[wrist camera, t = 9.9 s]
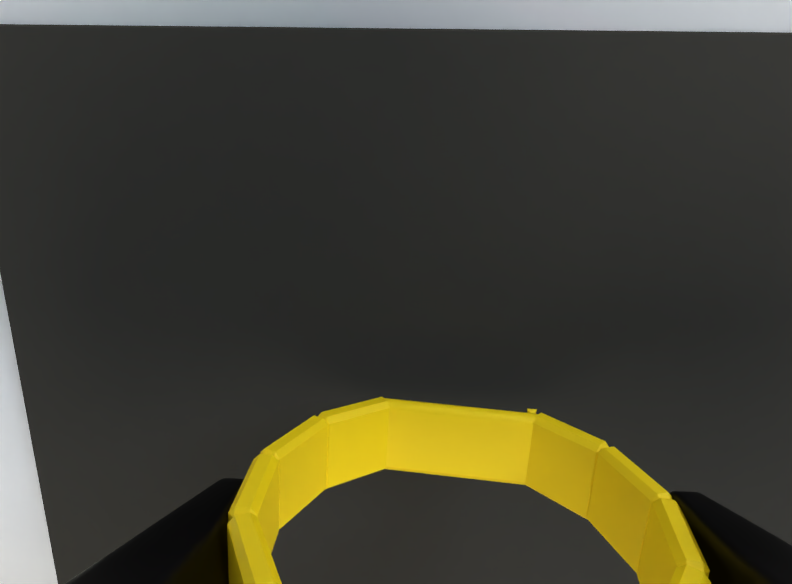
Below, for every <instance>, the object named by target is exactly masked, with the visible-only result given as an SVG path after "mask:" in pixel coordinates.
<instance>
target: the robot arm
mask: <svg viewBox="0 0 792 584" xmlns="http://www.w3.org/2000/svg"><path fill="white" fill-rule="evenodd" d="M243 480H244V479H237V478H223V479H221V480H219V481H217V482H216V483H214V484H213V485H211V486H210V487H208V488H207V489H205V490H204V491H202V492H201V493H199V494H198V495H196V496H195V497H193V498H192V499H190V500H189V501H187V502H186V503H184V504H183V505H181V506H180V507H178V508H177V509H175V510H174V511H172V512H171V513H169V514H168V515H166V516H165V517H163V518H162V519H160V520H159V521H157V522H156V523H155V524H153V525H152V526H150V527H149V528H147V529H146V530H144V531H143V532H141V533H140V534H138V535H137V536H135V537H134V538H132V539H131V540H129V541H128V542H126V543H125V544H123V545H122V546H120V547H119V548H117V549H116V550H114V551H113V552H111V553H110V554H108V555H107V556H105V557H104V558H102V559H101V560H99V561H98V562H96V563H95V564H93V565H92V566H90V567H89V568H87V569H86V570H84V571H83V572H81V573H80V574H78V575H77V576H75V577H74V578H72V579H71V580H69V581H68V582H66V583H65V584H229V575H228V541H227V523H228V512H229V510H230V508H231V506H232V503H233V501H234V499H235V497H236V495H237V493H238V491H239V489H240V487H241V484H242V482H243ZM669 494H670V495H671V496H672V500H675V501H676V502H677V503H678V505H679V507H680V508H681V510H682V512H683V514H684V516H685V518H686V520H687V522H688V524H689V526H690V528H691V531H692V533H693V535H694V537H695V539H696V541H697V544H698V546H699V548H700V550H701V552H702V554H703V557H704V559H705V561H706V563H707V565H708V567H709V570H710V573H709V576H708V579H709V580H710V582H711V584H792V545H791V544H789V543H787V542H785V541H784V540H782V539H780V538H778V537H777V536H775V535H773V534H771V533H770V532H768V531H766V530H764V529H763V528H761V527H759V526H757V525H756V524H754V523H752V522H750V521H749V520H747V519H745V518H743V517H742V516H740V515H738V514H736V513H735V512H733V511H731V510H729V509H728V508H726V507H724V506H722V505H721V504H719V503H717V502H715V501H714V500H712V499H710V498H708V497H707V496H705V495H703V494H701V493H699V492H688V491H672V492H670V493H669Z"/></svg>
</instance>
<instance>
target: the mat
mask: <svg viewBox="0 0 792 584" xmlns="http://www.w3.org/2000/svg"><path fill="white" fill-rule="evenodd" d="M0 273H1V278H2V283H3V289H4V294H5V300H6V305H7V310H8V316H9V321H10V327H11V332H12V337H13V343H14V348H15V354H16V359H17V364H18V370H19V375H20V380H21V386H22V391H23V397H24V402H25V407H26V413H27V418H28V424H29V429H30V434H31V440H32V445H33V451H34V456H35V461H36V467H37V472H38V477H39V483H40V488H41V494H42V499H43V504H44V510H45V515H46V521H47V526H48V531H49V537H50V542H51V547H52V553H53V558H54V564H55V569H56V574H57V580H58V584H65V583H66V582H68V581H69V580H71V579H72V578H74V577H75V576H77V575H78V574H80V573H81V572H83V571H84V570H86V569H87V568H89V567H90V566H92V565H93V564H95V563H96V562H98V561H99V560H101V559H102V558H104V557H105V556H107V555H108V554H110V553H111V552H113V551H114V550H116V549H117V548H119V547H120V546H122V545H123V544H125V543H126V542H128V541H129V540H131V539H132V538H134V537H135V536H137V535H138V534H140V533H141V532H143V531H144V530H146V529H147V528H149V527H150V526H152V525H153V524H155V523H156V522H157V521H159V520H160V519H162V518H163V517H165V516H166V515H168V514H169V513H171V512H172V511H174V510H175V509H177V508H178V507H180V506H181V505H183V504H184V503H186V502H187V501H189V500H190V499H192V498H193V497H195V496H196V495H198V494H199V493H201V492H202V491H204V490H205V489H207V488H208V487H210V486H211V485H213V484H214V483H216V482H217V481H219V480H221V479H223V478H237V479H244V478H245V476H246V474H247V472H248V470H249V468H250V465H251V463H252V461H253V459H254V458H256V457H257V456H258V455H259V454H260V452H261V451H262V450H263V449H265V448H266V447H268V446H269V445H271V444H272V443H273V442H275V441H276V440H278V439H279V438H281V437H282V436H284V435H285V434H287V433H288V432H290V431H291V430H293V429H294V428H296V427H297V426H299V425H300V424H302V423H303V422H305V421H306V420H308V419H309V418H311V417H312V416H314V415H315V416H319V414H320V413H321V412H324V411H327V410H331V409H335V408H339V407H343V406H347V405H351V404H355V403H359V402H363V401H366V400H370V399H374V398H378V397H383V398H389V399H399V400H409V401H418V402H428V403H438V404H447V405H457V406H467V407H477V408H486V409H496V410H506V411H515V412H525V413H527V409H537V411H536V414H539V413H543V414H546V415H548V416H550V417H552V418H555V419H557V420H559V421H561V422H563V423H566V424H568V425H570V426H572V427H575V428H577V429H579V430H581V431H584V432H586V433H588V434H590V435H593V436H595V437H597V438H599V439H601V440H604V441H606V443H607V445H608V446H609V447H615V448H616V449H618V450H619V451H620V452H621V453H622V454H624V455H625V456H626V457H627V458H628V459H630V460H631V461H632V462H633V463H634V464H635V465H637V466H638V467H639V468H640V469H641V470H643V471H644V472H645V473H646V474H647V475H648V476H650V477H651V478H652V479H653V480H654V481H656V482H657V483H658V484H659V485H660V486H662V487H663V488H664V489H665V490H666V491H667V492H669V493H670V492H672V491H688V492H699V493H701V494H703V495H705V496H707V497H708V498H710V499H712V500H714V501H715V502H717V503H719V504H721V505H722V506H724V507H726V508H728V509H729V510H731V511H733V512H735V513H736V514H738V515H740V516H742V517H743V518H745V519H747V520H749V521H750V522H752V523H754V524H756V525H757V526H759V527H761V528H763V529H764V530H766V531H768V532H770V533H771V534H773V535H775V536H777V537H778V538H780V539H782V540H784V541H785V542H787V543H789V544H791V545H792V33H766V32H672V31H578V30H484V29H390V28H297V27H203V26H109V25H15V24H0ZM271 555H272V558H273V561H274V563H275V566H276V569H277V572H278V574H279V577H280V580H281V583H282V584H640V583H639V580H638V576H637V573H636V572H635V571H634V570H633V569H632V568H631V567H630V566H629V564H628V563H627V562H626V561H625V560H624V559H623V558H622V557H621V556H620V555H619V553H618V552H617V551H616V550H615V549H614V548H613V547H612V546H611V545H610V544H609V542H608V541H607V540H606V539H605V538H604V537H603V536H602V535H601V534H600V533H599V531H598V530H597V529H596V528H595V527H594V526H593V525H592V524H591V523H590V522H589V520H588V519H585V518H583V517H582V516H580V515H578V514H576V513H574V512H573V511H571V510H569V509H567V508H566V507H564V506H562V505H560V504H558V503H557V502H555V501H553V500H551V499H549V498H548V497H546V496H544V495H542V494H541V493H539V492H537V491H535V490H533V489H532V488H530V487H528V486H526V485H521V484H512V483H503V482H495V481H486V480H477V479H468V478H460V477H451V476H442V475H433V474H425V473H416V472H407V471H398V470H390V469H383V470H380V471H377V472H374V473H371V474H369V475H366V476H363V477H360V478H357V479H354V480H351V481H348V482H345V483H342V484H339V485H336V486H333V487H330V488H327V489H325V490H324V491H323V492H321V493H320V494H319V495H318V496H317V497H316V498H315V499H313V500H312V501H311V502H310V503H309V504H308V505H307V506H306V507H304V508H303V509H302V510H301V511H300V512H299V513H298V514H296V515H295V516H294V517H293V518H292V519H291V520H290V521H288V522H287V523H286V524H285V525H284V526H283V527H282V528H280V529H279V532H278V535H277V538H276V541H275V544H274V547H273V550H272V553H271Z"/></svg>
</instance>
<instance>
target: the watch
mask: <svg viewBox="0 0 792 584" xmlns="http://www.w3.org/2000/svg"><path fill="white" fill-rule="evenodd" d="M536 411H537V409H527V413H525V412H515V411H506V410H496V409H486V408H477V407H467V406H457V405H447V404H438V403H428V402H418V401H409V400H399V399H389V398H383V397H378V398H374V399H370V400H366V401H363V402H359V403H355V404H351V405H347V406H343V407H339V408H335V409H331V410H327V411H324V412H321V413H320V414H319V416H315V415H314V416H312V417H311V418H309V419H308V420H306V421H305V422H303V423H302V424H300V425H299V426H297V427H296V428H294V429H293V430H291V431H290V432H288V433H287V434H285V435H284V436H282V437H281V438H279V439H278V440H276V441H275V442H273V443H272V444H271V445H269V446H268V447H266V448H265V449H263V450H262V451H261V452H260V454H259V455H258V456H257V457H256V458H254V459H253V461H252V463H251V465H250V468H249V470H248V472H247V474H246V476H245V478H244V480H243V482H242V484H241V487H240V489H239V491H238V493H237V495H236V497H235V499H234V501H233V503H232V506H231V508H230V510H229V512H228V523H227V541H228V575H229V584H282V583H281V580H280V577H279V574H278V572H277V569H276V566H275V563H274V561H273V558H272V555H271V553H272V550H273V547H274V544H275V541H276V538H277V535H278V532H279V529H280V528H282V527H283V526H284V525H285V524H286V523H287V522H288V521H290V520H291V519H292V518H293V517H294V516H295V515H296V514H298V513H299V512H300V511H301V510H302V509H303V508H304V507H306V506H307V505H308V504H309V503H310V502H311V501H312V500H313V499H315V498H316V497H317V496H318V495H319V494H320V493H321V492H323V491H324V490H325V489H327V488H330V487H333V486H336V485H339V484H342V483H345V482H348V481H351V480H354V479H357V478H360V477H363V476H366V475H369V474H371V473H374V472H377V471H380V470H383V469H390V470H398V471H407V472H416V473H425V474H433V475H442V476H451V477H460V478H468V479H477V480H486V481H495V482H503V483H512V484H521V485H526V486H528V487H530V488H532V489H533V490H535V491H537V492H539V493H541V494H542V495H544V496H546V497H548V498H549V499H551V500H553V501H555V502H557V503H558V504H560V505H562V506H564V507H566V508H567V509H569V510H571V511H573V512H574V513H576V514H578V515H580V516H582V517H583V518H585V519H588V520H589V522H590V523H591V524H592V525H593V526H594V527H595V528H596V529H597V530H598V531H599V533H600V534H601V535H602V536H603V537H604V538H605V539H606V540H607V541H608V542H609V544H610V545H611V546H612V547H613V548H614V549H615V550H616V551H617V552H618V553H619V555H620V556H621V557H622V558H623V559H624V560H625V561H626V562H627V563H628V564H629V566H630V567H631V568H632V569H633V570H634V571H635V572H636V573H637V576H638V580H639V583H640V584H711V582H710V580H709V579H708V576H709V573H710V570H709V567H708V565H707V563H706V561H705V559H704V557H703V554H702V552H701V550H700V548H699V546H698V544H697V541H696V539H695V537H694V535H693V533H692V531H691V528H690V526H689V524H688V522H687V520H686V518H685V516H684V514H683V512H682V510H681V508H680V507H679V505H678V503H677V502H676V501H675V500H672V496H671V495H670V494H669V492H667V491H666V490H665V489H664V488H663V487H662V486H660V485H659V484H658V483H657V482H656V481H654V480H653V479H652V478H651V477H650V476H648V475H647V474H646V473H645V472H644V471H643V470H641V469H640V468H639V467H638V466H637V465H635V464H634V463H633V462H632V461H631V460H630V459H628V458H627V457H626V456H625V455H624V454H622V453H621V452H620V451H619V450H618V449H616V448H615V447H609V446H608V445H607V443H606V441H604V440H601V439H599V438H597V437H595V436H593V435H590V434H588V433H586V432H584V431H581V430H579V429H577V428H575V427H572V426H570V425H568V424H566V423H563V422H561V421H559V420H557V419H555V418H552V417H550V416H548V415H546V414H543V413H539V414H536Z"/></svg>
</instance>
